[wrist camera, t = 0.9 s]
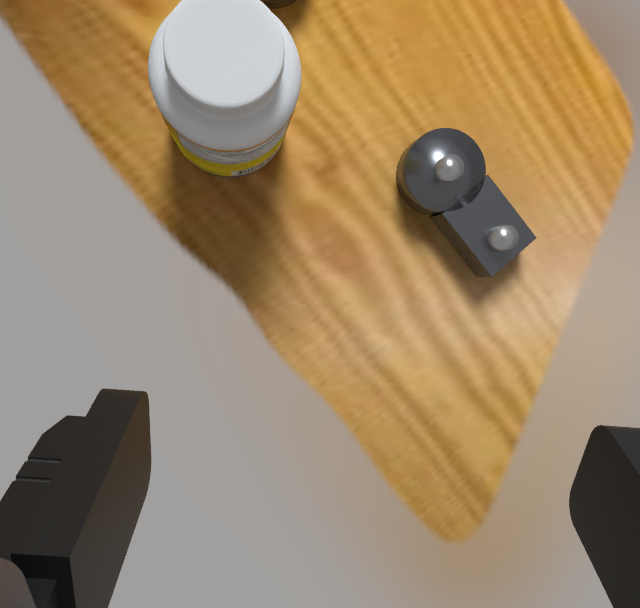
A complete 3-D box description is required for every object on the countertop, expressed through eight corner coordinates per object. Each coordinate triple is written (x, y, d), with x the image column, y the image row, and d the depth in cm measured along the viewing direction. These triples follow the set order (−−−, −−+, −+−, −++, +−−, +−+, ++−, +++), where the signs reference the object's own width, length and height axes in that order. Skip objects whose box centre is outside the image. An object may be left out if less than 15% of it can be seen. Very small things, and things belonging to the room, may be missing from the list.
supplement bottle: (193, 47, 30) (171, -73, 19) (300, 92, 30) (334, 0, 20) (153, 155, 30) (111, 92, 19) (261, 198, 30) (276, 159, 20)
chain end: (380, 169, 31) (394, 160, 28) (439, 120, 31) (457, 106, 29) (470, 282, 32) (491, 283, 29) (526, 233, 32) (552, 230, 30)
